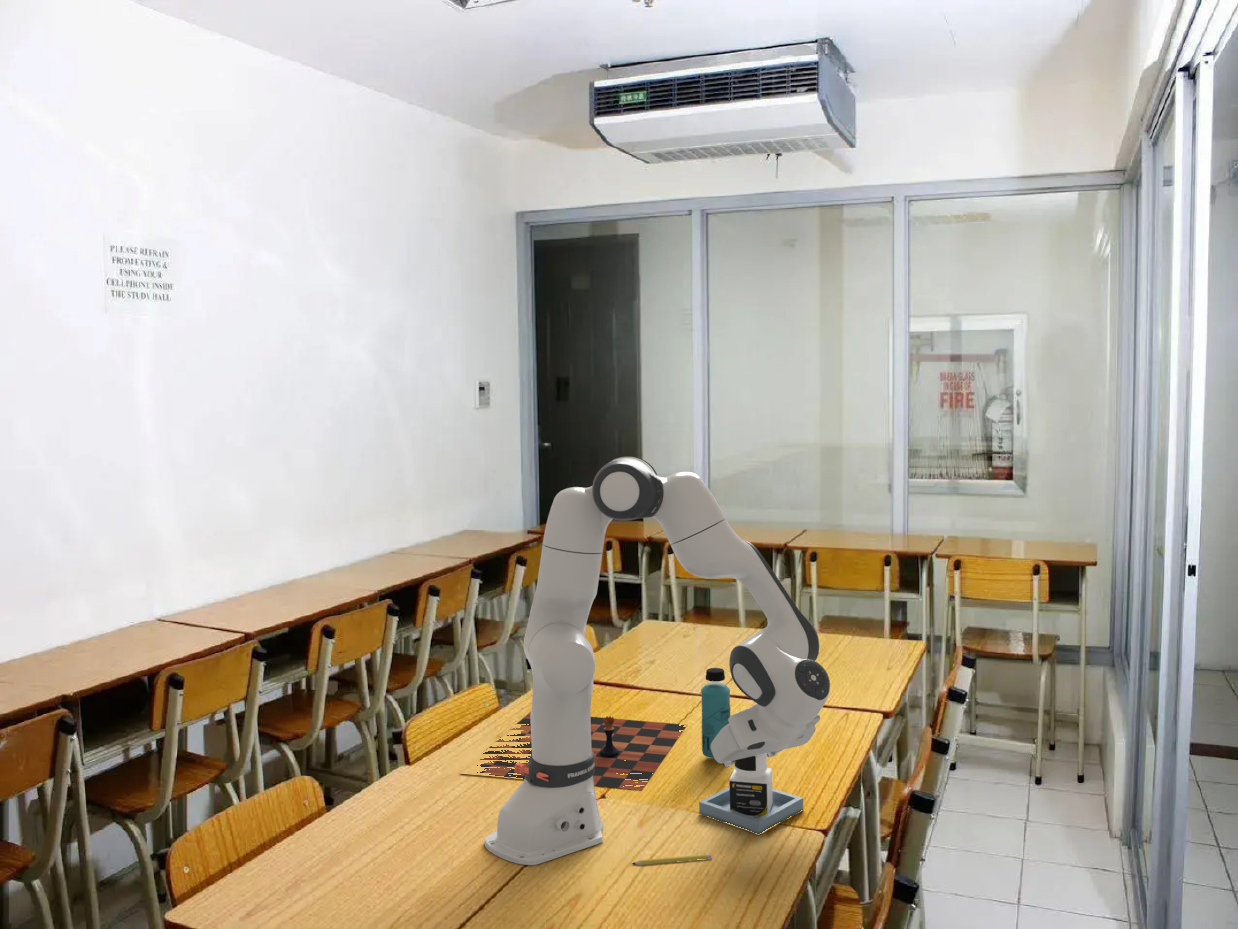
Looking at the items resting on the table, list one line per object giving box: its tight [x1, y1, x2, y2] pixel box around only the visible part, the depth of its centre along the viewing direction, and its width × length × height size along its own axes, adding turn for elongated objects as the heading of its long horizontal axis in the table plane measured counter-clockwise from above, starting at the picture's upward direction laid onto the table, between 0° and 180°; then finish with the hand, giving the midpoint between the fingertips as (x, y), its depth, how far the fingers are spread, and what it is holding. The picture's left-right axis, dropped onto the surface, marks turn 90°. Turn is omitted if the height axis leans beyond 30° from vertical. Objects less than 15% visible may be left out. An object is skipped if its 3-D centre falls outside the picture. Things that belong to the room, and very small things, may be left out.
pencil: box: [631, 854, 713, 866], centre depth 181 cm, size 1×14×1 cm, turn 97°
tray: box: [698, 786, 804, 834], centre depth 199 cm, size 14×14×2 cm
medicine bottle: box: [728, 753, 773, 818], centre depth 199 cm, size 7×7×12 cm
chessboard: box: [477, 711, 687, 792], centre depth 236 cm, size 40×40×11 cm
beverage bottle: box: [700, 667, 732, 759], centre depth 226 cm, size 6×7×20 cm
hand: (748, 758), depth 199 cm, fingers open, 8 cm apart
